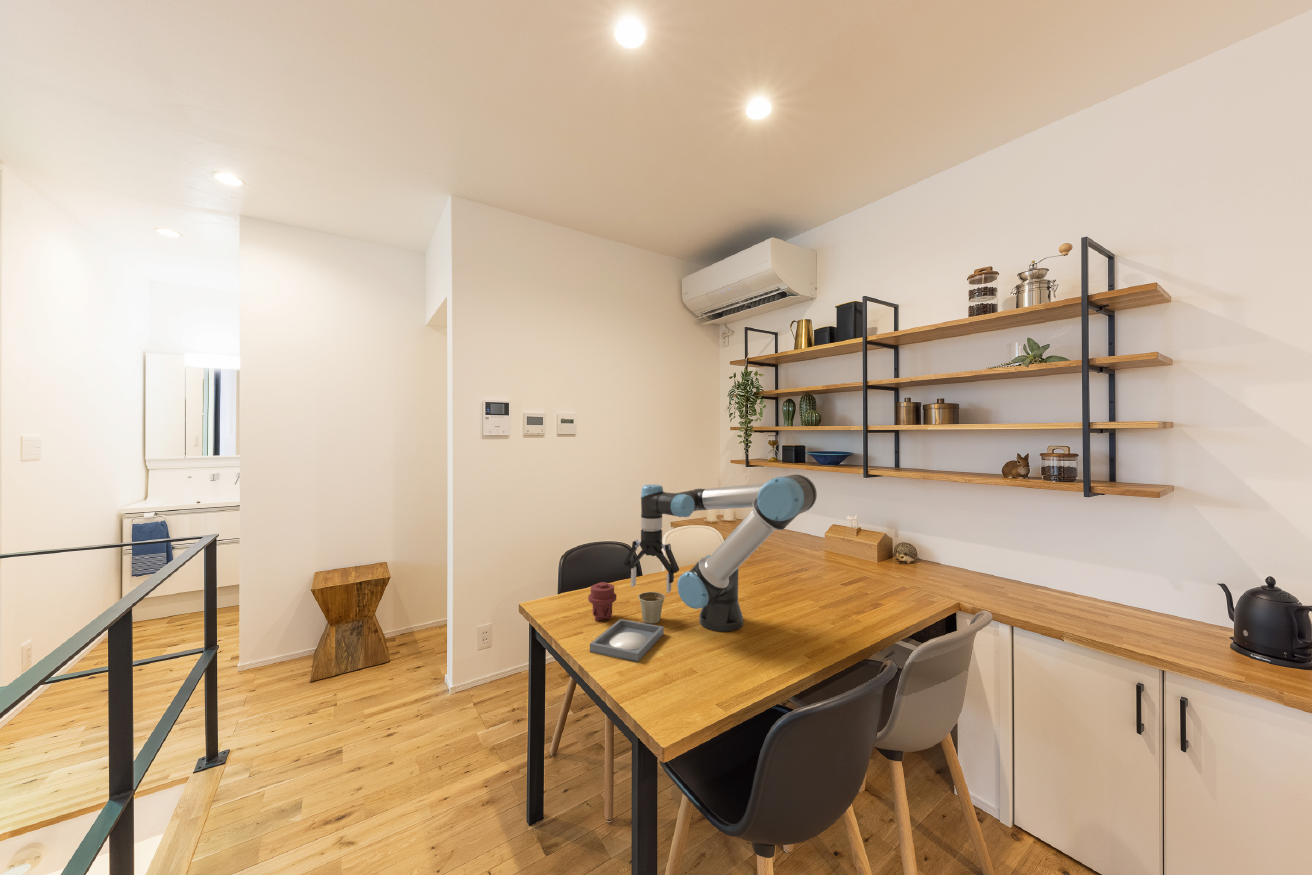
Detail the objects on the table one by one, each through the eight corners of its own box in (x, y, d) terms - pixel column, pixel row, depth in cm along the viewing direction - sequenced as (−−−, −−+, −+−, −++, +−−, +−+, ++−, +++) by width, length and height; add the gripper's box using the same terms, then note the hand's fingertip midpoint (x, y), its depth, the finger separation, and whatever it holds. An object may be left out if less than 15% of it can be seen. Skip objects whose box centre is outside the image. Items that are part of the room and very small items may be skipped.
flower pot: (670, 620, 163) (670, 596, 163) (652, 628, 156) (652, 603, 156) (651, 613, 170) (651, 589, 170) (632, 620, 163) (632, 596, 163)
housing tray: (663, 634, 152) (663, 626, 152) (637, 662, 134) (637, 653, 134) (620, 626, 158) (620, 618, 158) (589, 651, 140) (589, 643, 140)
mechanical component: (592, 612, 171) (618, 613, 170) (585, 623, 161) (613, 624, 160) (592, 578, 170) (618, 579, 169) (585, 588, 161) (613, 589, 160)
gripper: (688, 530, 161) (687, 590, 162) (624, 523, 171) (624, 580, 172) (681, 534, 154) (680, 597, 155) (615, 527, 164) (614, 586, 165)
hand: (650, 588), depth 163 cm, fingers open, 13 cm apart
